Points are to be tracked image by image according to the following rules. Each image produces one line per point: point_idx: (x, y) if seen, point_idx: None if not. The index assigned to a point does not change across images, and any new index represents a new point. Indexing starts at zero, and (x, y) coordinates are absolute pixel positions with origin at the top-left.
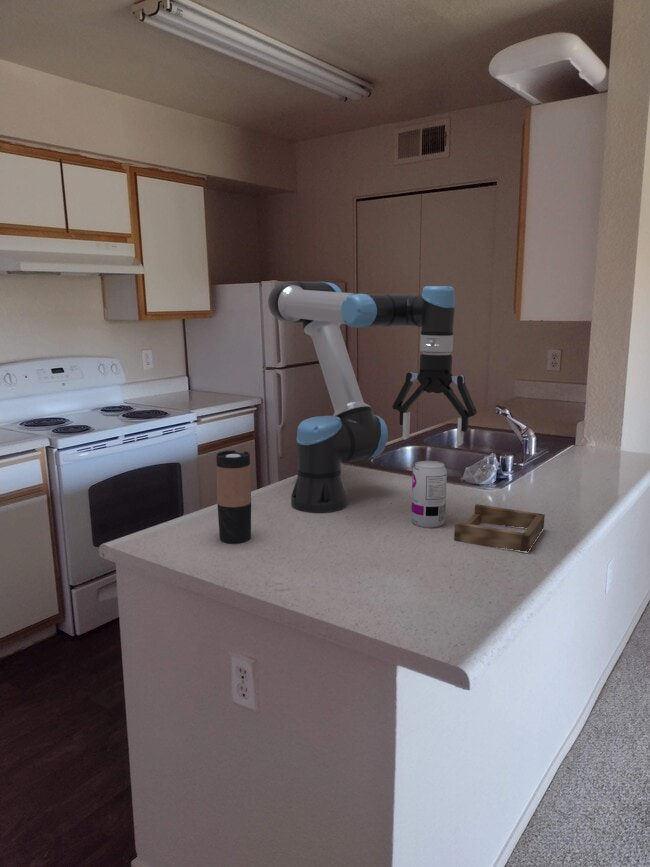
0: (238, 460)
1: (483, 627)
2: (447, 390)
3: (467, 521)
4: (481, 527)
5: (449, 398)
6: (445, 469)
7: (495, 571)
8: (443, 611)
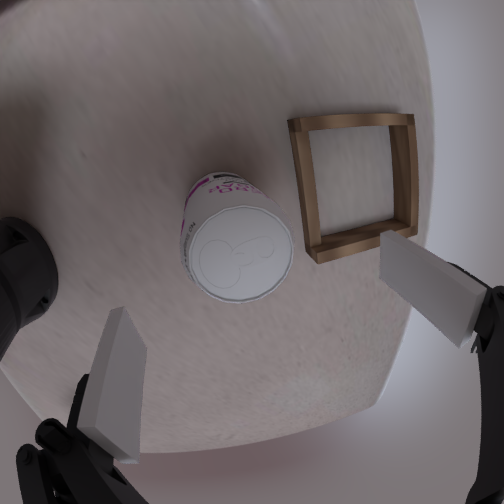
0: None
1: (382, 376)
2: (494, 502)
3: (307, 190)
4: (359, 249)
5: (486, 455)
6: (291, 231)
7: (379, 300)
8: (355, 383)
